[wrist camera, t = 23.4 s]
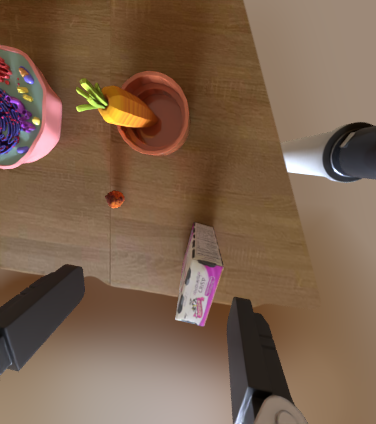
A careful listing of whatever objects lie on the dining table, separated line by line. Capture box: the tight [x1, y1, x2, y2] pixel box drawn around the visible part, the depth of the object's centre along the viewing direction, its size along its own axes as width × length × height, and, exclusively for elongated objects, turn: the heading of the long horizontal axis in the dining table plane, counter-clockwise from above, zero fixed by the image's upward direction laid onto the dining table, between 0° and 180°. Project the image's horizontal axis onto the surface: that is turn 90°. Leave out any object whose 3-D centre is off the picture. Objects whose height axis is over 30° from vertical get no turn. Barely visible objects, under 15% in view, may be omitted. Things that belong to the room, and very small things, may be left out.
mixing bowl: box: [117, 71, 191, 156], centre depth 33 cm, size 12×12×6 cm
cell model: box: [0, 45, 62, 169], centre depth 31 cm, size 17×20×11 cm
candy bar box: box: [175, 222, 224, 326], centre depth 34 cm, size 11×5×16 cm, turn 167°
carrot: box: [76, 78, 158, 127], centre depth 28 cm, size 5×5×15 cm
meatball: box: [105, 190, 124, 208], centre depth 38 cm, size 4×4×4 cm
